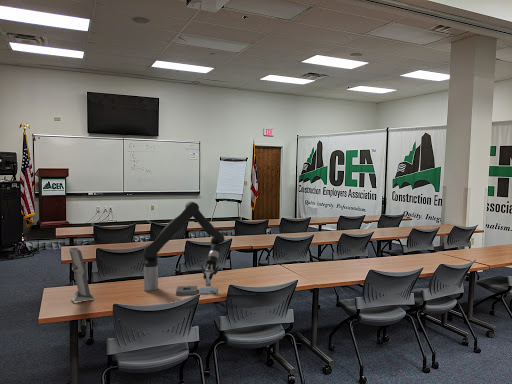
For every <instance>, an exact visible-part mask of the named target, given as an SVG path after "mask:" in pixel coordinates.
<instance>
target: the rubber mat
mask: <svg viewBox="0 0 512 384" xmlns="http://www.w3.org/2000/svg"><path fill="white" fill-rule="evenodd" d="M208 293H217V294H218V289H217V287H215V286H214V287H199V295H209V294H208Z"/></svg>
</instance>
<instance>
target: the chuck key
mask: <svg viewBox="0 0 512 384" xmlns="http://www.w3.org/2000/svg"><path fill="white" fill-rule="evenodd" d="M205 269H206V268H205ZM210 274H211V269H209V268H208V269H206V279H205V287H206V288H210V287H212V279H211V280H210V279H209V277H210Z"/></svg>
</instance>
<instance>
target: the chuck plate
mask: <svg viewBox="0 0 512 384" xmlns="http://www.w3.org/2000/svg"><path fill="white" fill-rule="evenodd" d="M196 294H197V295H198V285H187V286H186V285H183V286H179V285H178V286H177V288H176V291H175V296H195V295H196Z"/></svg>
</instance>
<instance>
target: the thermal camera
mask: <svg viewBox="0 0 512 384" xmlns="http://www.w3.org/2000/svg"><path fill="white" fill-rule="evenodd" d="M68 250H69V255H70V259H71V262H72V263H71V264H72V265H71V270H72V272H74V278H75V283H76V286H77V291H75V293H74V294H73V296H71V299H73V301H83V300H90V299H94V296H93V295H92V294H91V292H90V287H89V282H88V277H87V268H86V265H85V261H84V258H83V254H82V251H81V250H80V249H79V248H77V247H69V248H68ZM94 300H95V299H94Z"/></svg>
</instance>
